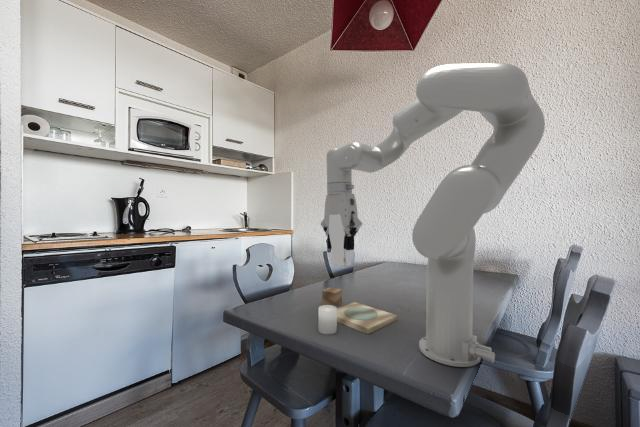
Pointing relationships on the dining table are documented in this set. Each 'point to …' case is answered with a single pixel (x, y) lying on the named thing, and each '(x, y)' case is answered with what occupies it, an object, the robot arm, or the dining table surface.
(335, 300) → the walnut block
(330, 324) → the white short cylinder
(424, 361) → the dining table surface
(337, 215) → the beer glass
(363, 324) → the birch board
